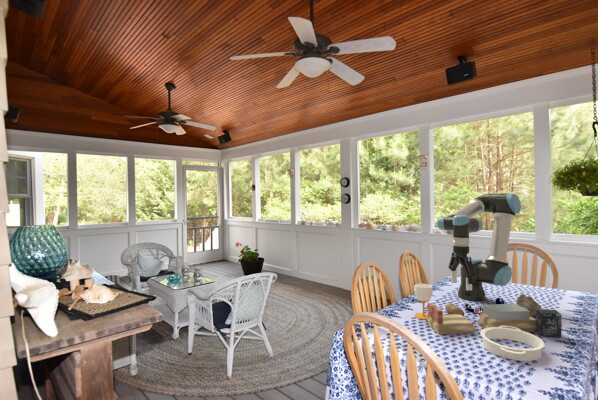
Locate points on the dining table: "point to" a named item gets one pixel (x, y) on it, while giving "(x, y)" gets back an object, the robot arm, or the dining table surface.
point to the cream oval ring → (512, 335)
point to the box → (548, 323)
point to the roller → (453, 309)
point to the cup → (423, 297)
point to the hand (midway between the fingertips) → (461, 286)
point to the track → (463, 325)
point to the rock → (528, 304)
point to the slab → (506, 312)
